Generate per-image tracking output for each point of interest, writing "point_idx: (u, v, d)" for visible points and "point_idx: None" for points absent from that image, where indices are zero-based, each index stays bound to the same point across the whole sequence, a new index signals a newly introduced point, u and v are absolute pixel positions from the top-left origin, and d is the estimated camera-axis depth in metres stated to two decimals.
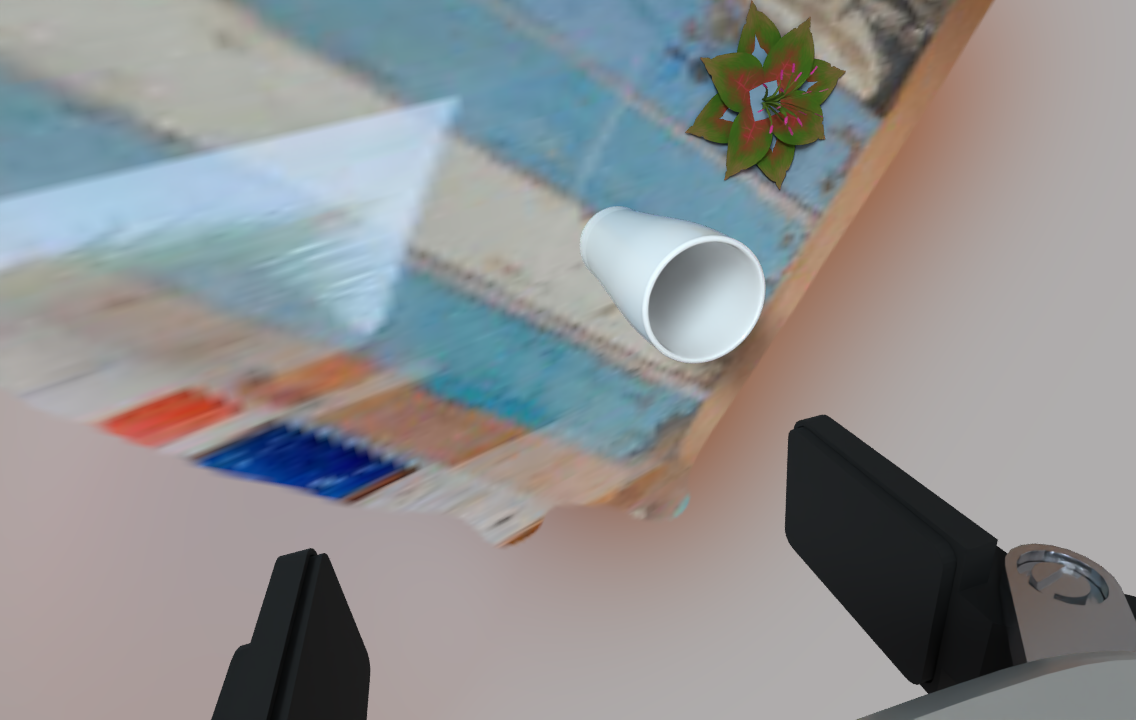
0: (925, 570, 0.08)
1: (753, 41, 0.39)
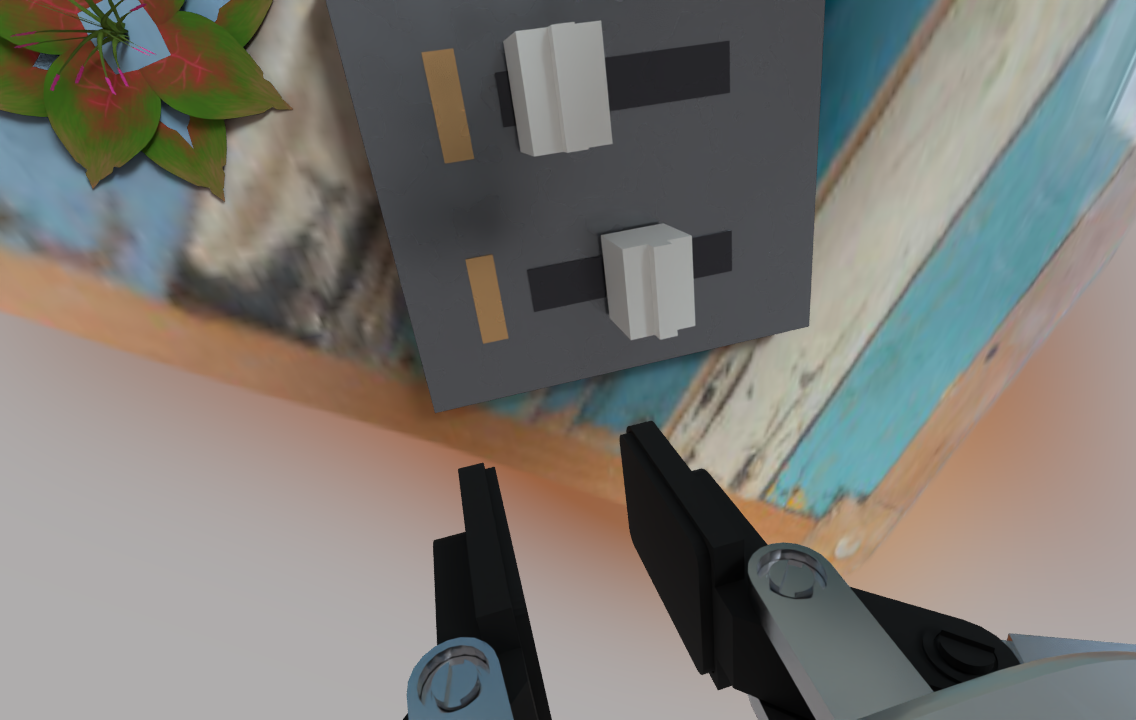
0: (691, 567, 0.09)
1: None
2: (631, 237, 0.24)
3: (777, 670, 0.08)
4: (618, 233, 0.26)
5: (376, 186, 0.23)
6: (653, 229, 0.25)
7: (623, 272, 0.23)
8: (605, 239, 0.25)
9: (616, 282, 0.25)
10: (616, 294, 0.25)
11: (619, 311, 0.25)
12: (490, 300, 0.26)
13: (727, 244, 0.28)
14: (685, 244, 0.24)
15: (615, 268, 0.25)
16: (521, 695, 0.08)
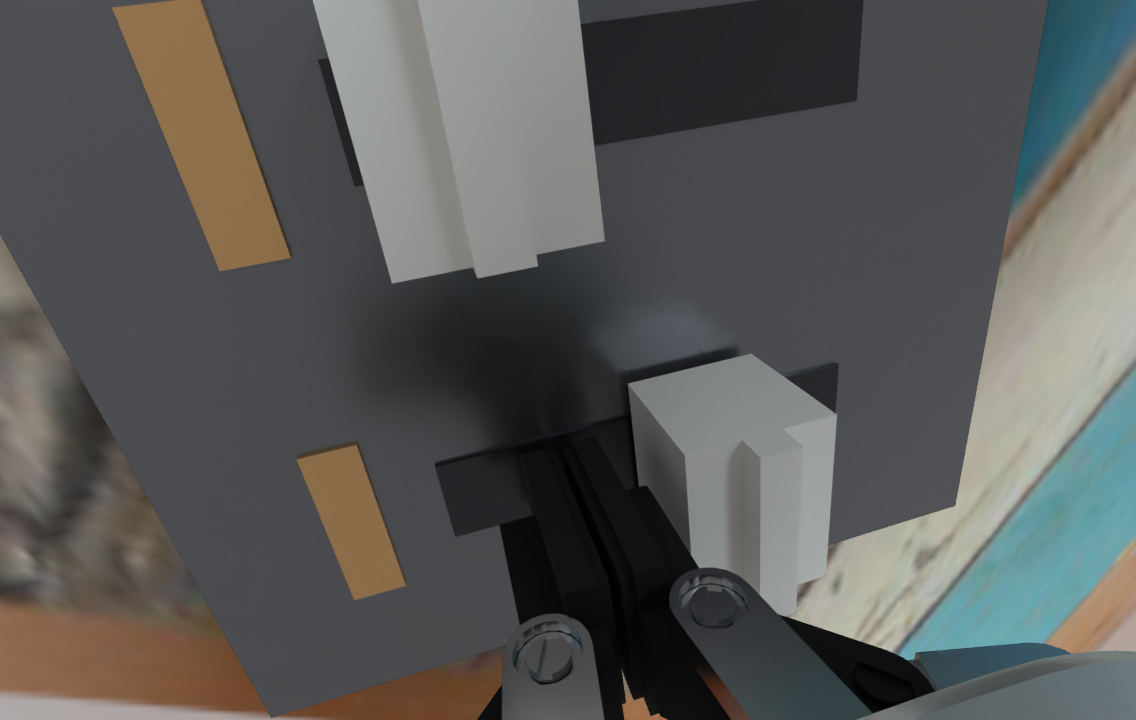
0: (618, 592, 0.09)
1: None
2: (695, 403, 0.12)
3: (700, 700, 0.08)
4: (664, 381, 0.13)
5: (57, 327, 0.10)
6: (736, 375, 0.12)
7: (685, 496, 0.11)
8: (638, 399, 0.12)
9: (663, 492, 0.12)
10: None
11: None
12: (363, 525, 0.13)
13: (827, 388, 0.14)
14: (822, 433, 0.11)
15: (661, 468, 0.12)
16: (610, 670, 0.08)
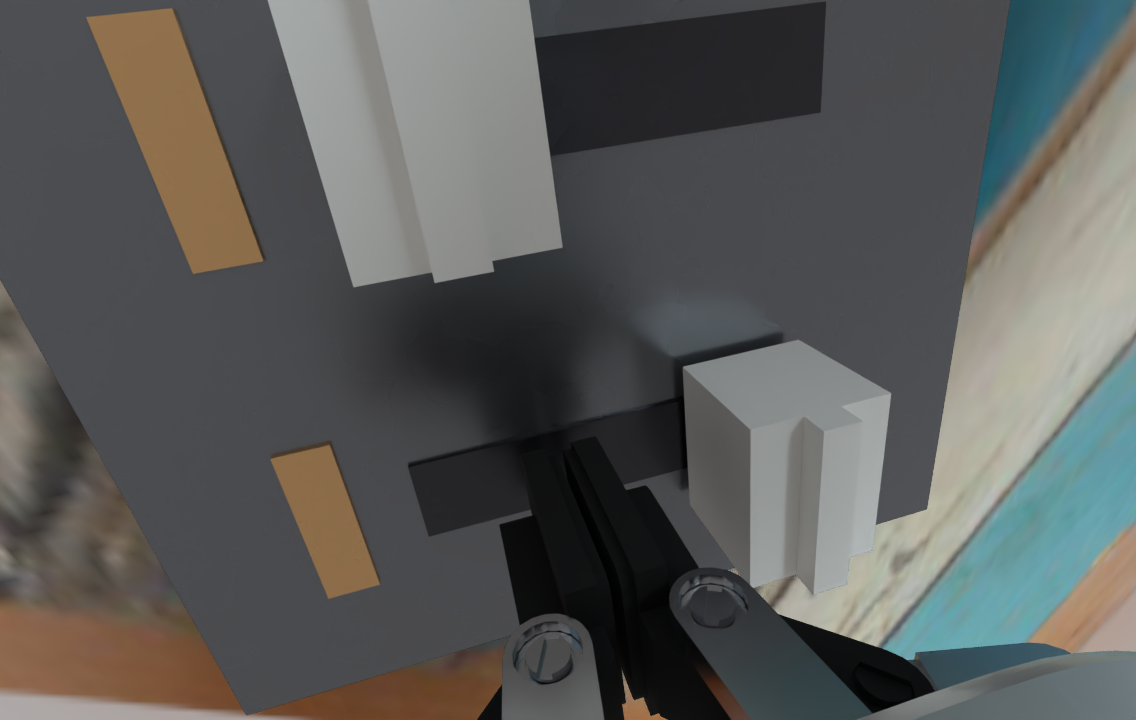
0: (618, 592, 0.09)
1: None
2: (752, 383, 0.12)
3: (700, 700, 0.08)
4: (717, 364, 0.13)
5: (32, 327, 0.10)
6: (787, 359, 0.13)
7: (747, 470, 0.11)
8: (695, 380, 0.13)
9: (719, 469, 0.12)
10: (715, 486, 0.13)
11: (720, 518, 0.13)
12: (337, 524, 0.13)
13: None
14: (877, 411, 0.11)
15: (718, 445, 0.12)
16: (609, 670, 0.08)
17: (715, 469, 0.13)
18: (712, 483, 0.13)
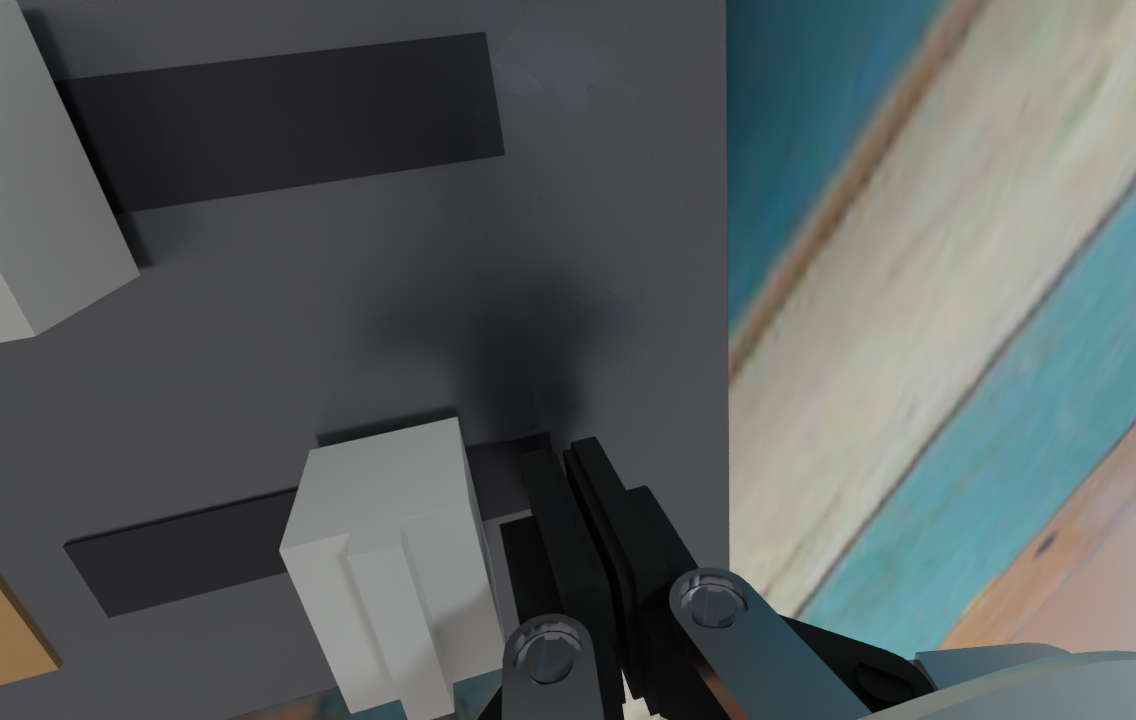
0: (618, 592, 0.09)
1: None
2: (350, 479, 0.10)
3: (700, 700, 0.08)
4: (345, 449, 0.12)
5: None
6: (419, 444, 0.11)
7: (300, 591, 0.09)
8: (305, 470, 0.11)
9: None
10: None
11: None
12: None
13: None
14: (455, 521, 0.10)
15: None
16: (610, 670, 0.08)
17: None
18: None
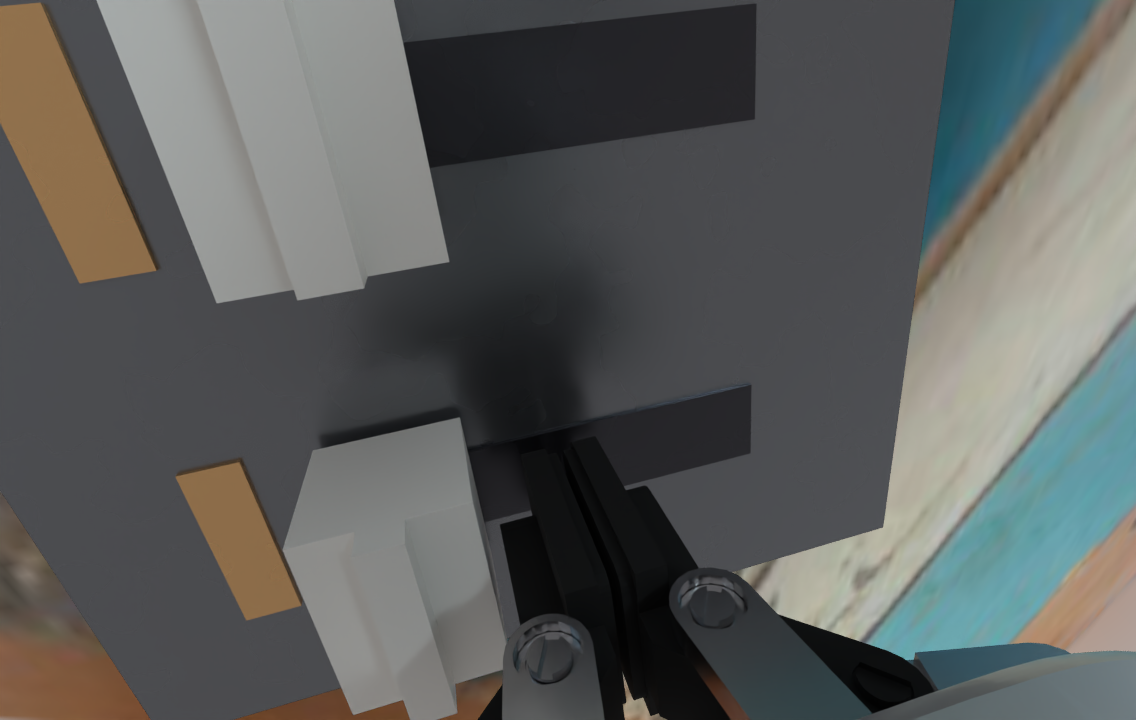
0: (617, 592, 0.09)
1: None
2: (353, 479, 0.10)
3: (699, 700, 0.08)
4: (348, 449, 0.11)
5: None
6: (422, 445, 0.11)
7: (303, 591, 0.09)
8: (308, 470, 0.11)
9: None
10: None
11: None
12: (252, 544, 0.12)
13: (741, 408, 0.14)
14: (460, 522, 0.10)
15: None
16: (610, 670, 0.08)
17: None
18: None
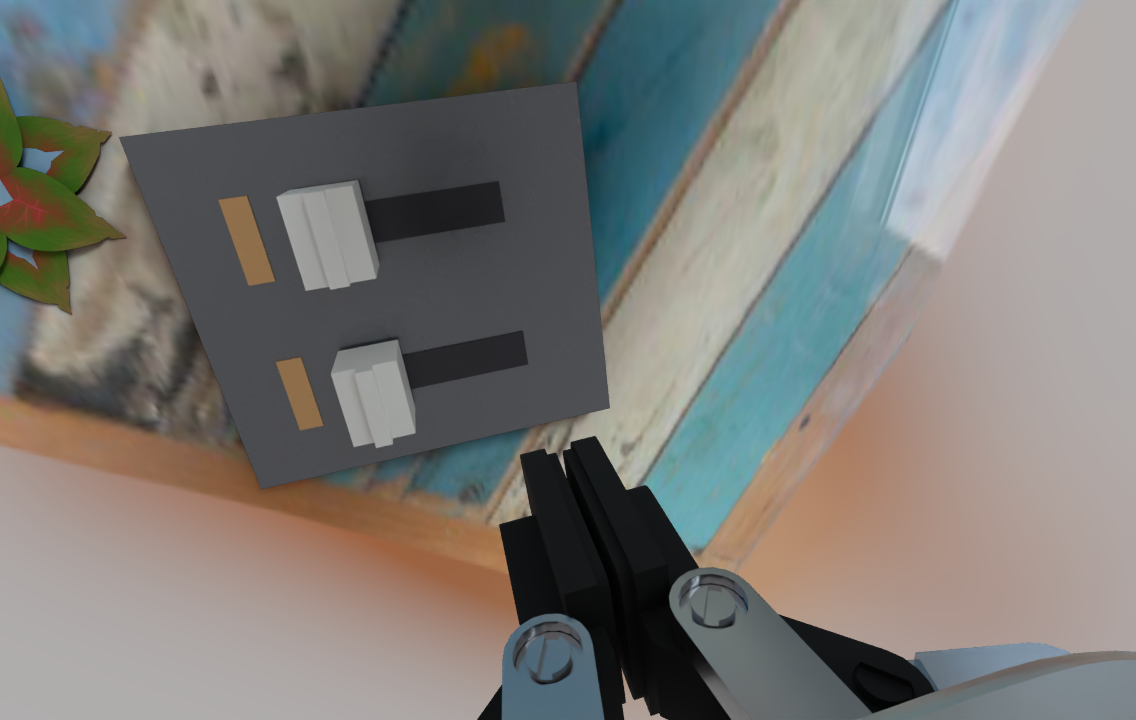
0: (618, 592, 0.09)
1: (56, 147, 0.25)
2: (354, 357, 0.28)
3: (700, 700, 0.08)
4: (352, 350, 0.29)
5: (188, 305, 0.27)
6: (381, 347, 0.29)
7: (336, 391, 0.27)
8: (336, 356, 0.29)
9: None
10: None
11: None
12: (304, 394, 0.30)
13: (521, 342, 0.32)
14: (392, 368, 0.27)
15: None
16: (610, 670, 0.08)
17: None
18: None
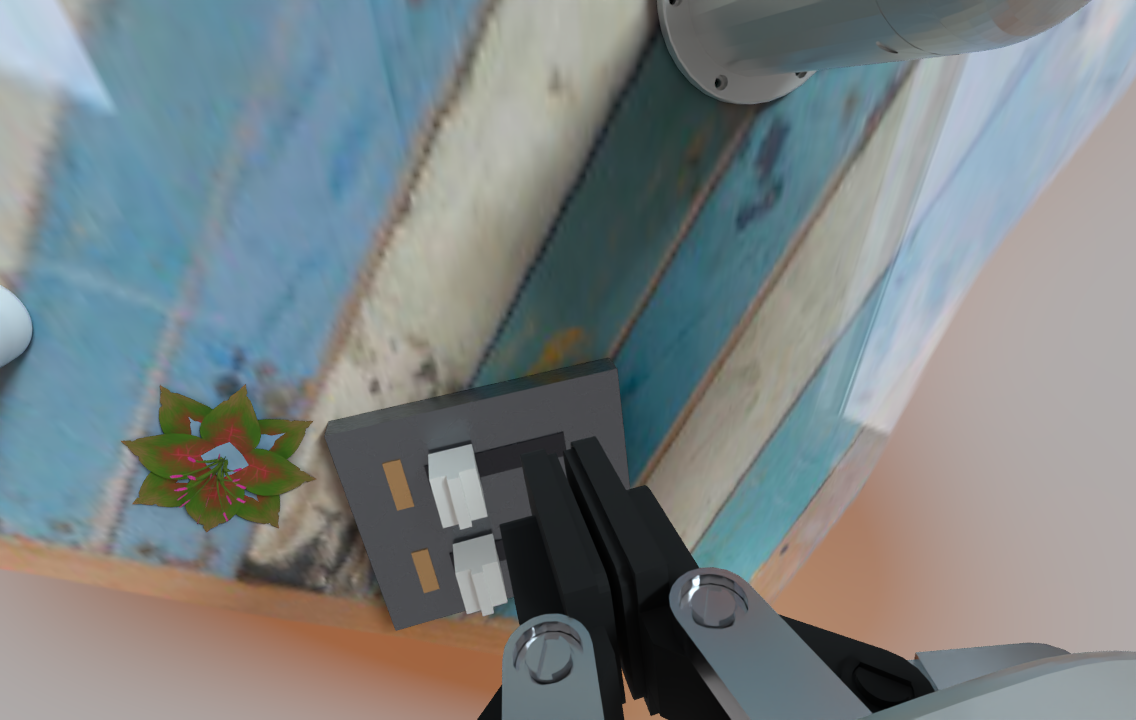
0: (618, 592, 0.09)
1: (278, 432, 0.38)
2: (466, 554, 0.41)
3: (700, 700, 0.08)
4: (462, 544, 0.42)
5: (357, 525, 0.40)
6: (483, 543, 0.42)
7: (458, 582, 0.40)
8: (453, 550, 0.42)
9: None
10: None
11: None
12: (427, 571, 0.43)
13: None
14: (494, 565, 0.40)
15: None
16: (609, 670, 0.08)
17: None
18: None
